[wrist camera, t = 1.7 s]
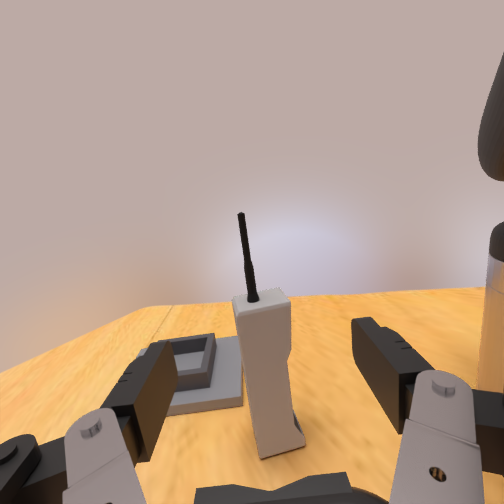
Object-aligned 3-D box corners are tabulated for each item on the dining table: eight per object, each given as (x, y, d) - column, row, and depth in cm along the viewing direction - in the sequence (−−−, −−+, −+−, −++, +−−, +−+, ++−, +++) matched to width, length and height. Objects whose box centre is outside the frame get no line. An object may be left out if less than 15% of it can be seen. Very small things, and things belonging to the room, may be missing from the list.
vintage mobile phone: (306, 447, 28) (281, 208, 21) (260, 461, 27) (219, 217, 21) (294, 417, 31) (269, 205, 25) (253, 429, 30) (217, 213, 24)
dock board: (242, 342, 47) (239, 322, 46) (242, 405, 34) (238, 379, 33) (143, 356, 47) (138, 336, 46) (103, 424, 34) (94, 399, 33)
